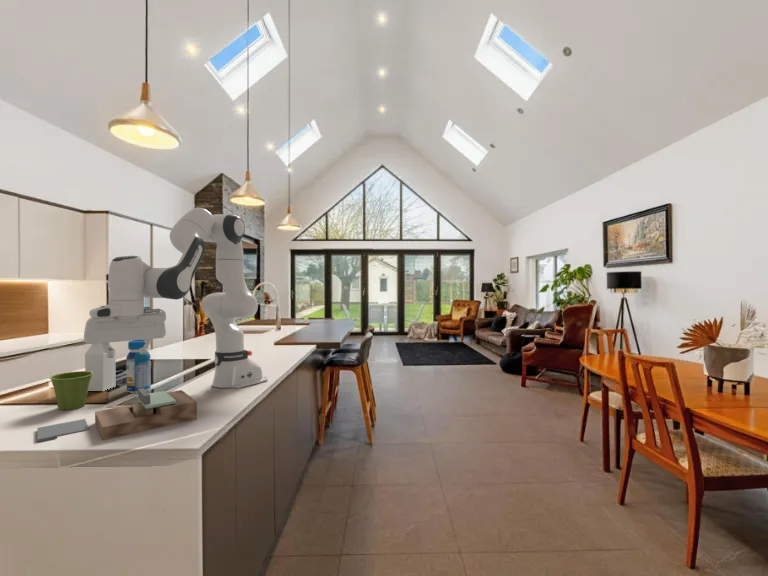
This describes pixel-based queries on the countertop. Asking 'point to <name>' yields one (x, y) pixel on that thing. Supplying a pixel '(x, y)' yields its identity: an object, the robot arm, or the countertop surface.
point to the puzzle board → (145, 417)
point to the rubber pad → (61, 429)
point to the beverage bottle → (137, 367)
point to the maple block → (141, 410)
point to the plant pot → (71, 389)
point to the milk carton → (100, 368)
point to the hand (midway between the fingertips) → (126, 355)
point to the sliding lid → (154, 398)
